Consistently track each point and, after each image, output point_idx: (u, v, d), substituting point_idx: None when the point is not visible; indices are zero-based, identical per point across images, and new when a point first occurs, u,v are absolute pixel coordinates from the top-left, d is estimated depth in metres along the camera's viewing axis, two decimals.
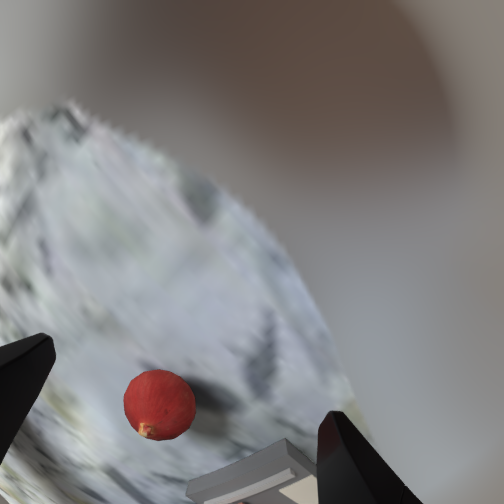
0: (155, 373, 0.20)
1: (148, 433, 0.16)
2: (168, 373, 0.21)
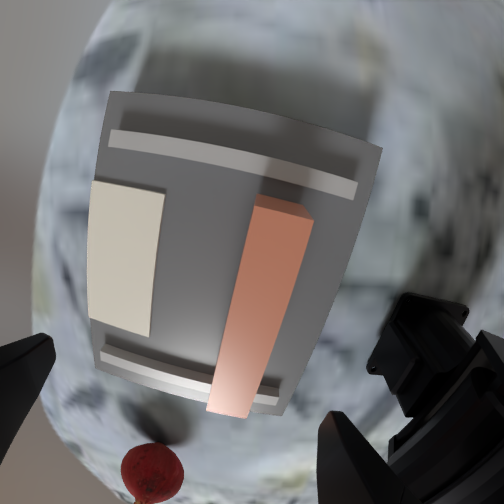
0: None
1: None
2: None
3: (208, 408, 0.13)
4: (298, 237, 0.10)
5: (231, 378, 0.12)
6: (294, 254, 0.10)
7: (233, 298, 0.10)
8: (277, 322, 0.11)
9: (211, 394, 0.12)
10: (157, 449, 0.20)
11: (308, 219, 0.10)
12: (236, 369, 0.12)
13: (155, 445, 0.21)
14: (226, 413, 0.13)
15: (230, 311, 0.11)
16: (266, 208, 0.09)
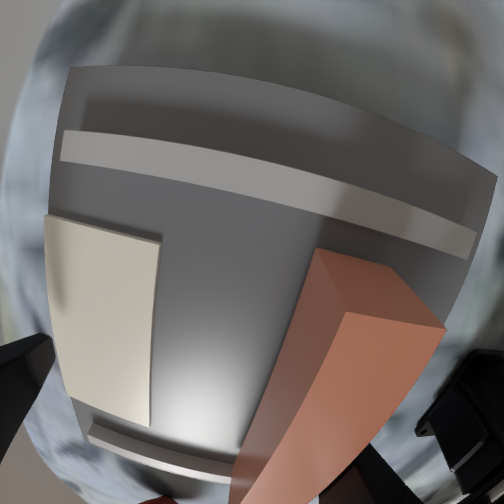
0: None
1: None
2: None
3: None
4: (415, 360, 0.04)
5: None
6: (400, 385, 0.04)
7: (280, 446, 0.05)
8: (345, 462, 0.05)
9: None
10: None
11: (437, 327, 0.04)
12: (273, 500, 0.06)
13: (162, 503, 0.15)
14: None
15: (273, 458, 0.05)
16: (369, 315, 0.04)
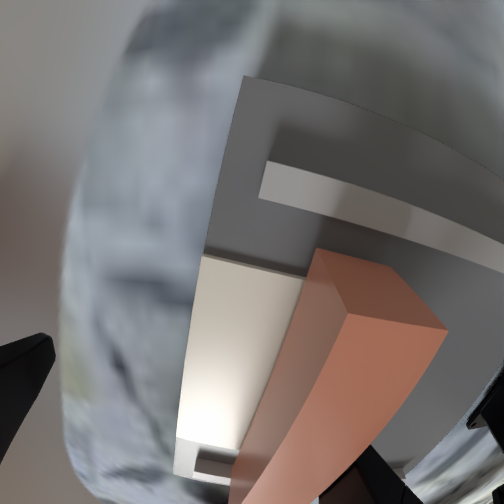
0: None
1: None
2: None
3: None
4: (416, 360, 0.04)
5: None
6: (401, 386, 0.04)
7: (281, 448, 0.05)
8: (346, 463, 0.05)
9: None
10: None
11: (439, 328, 0.04)
12: (273, 502, 0.06)
13: None
14: None
15: (273, 460, 0.05)
16: (371, 316, 0.04)
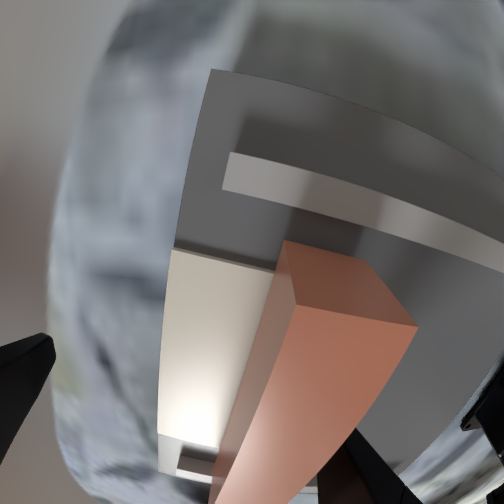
0: None
1: None
2: None
3: None
4: (382, 360, 0.04)
5: None
6: (368, 387, 0.04)
7: (243, 446, 0.05)
8: (316, 465, 0.05)
9: None
10: None
11: (407, 325, 0.04)
12: (247, 502, 0.06)
13: None
14: None
15: (238, 458, 0.05)
16: (323, 309, 0.04)
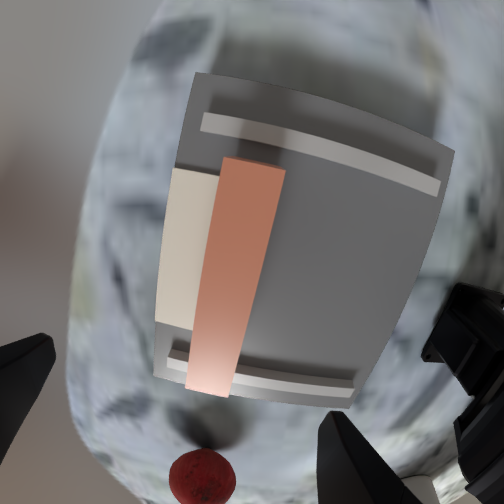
0: None
1: None
2: None
3: (187, 385, 0.12)
4: (270, 188, 0.09)
5: (209, 349, 0.11)
6: (267, 207, 0.09)
7: (205, 256, 0.10)
8: (253, 283, 0.10)
9: (189, 368, 0.12)
10: (209, 455, 0.20)
11: (280, 169, 0.09)
12: (213, 339, 0.11)
13: (205, 451, 0.21)
14: (206, 391, 0.12)
15: (203, 271, 0.10)
16: (236, 159, 0.09)
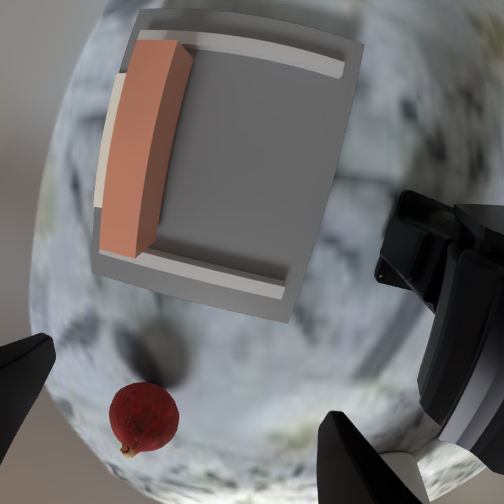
0: None
1: (124, 452, 0.16)
2: None
3: (100, 244, 0.13)
4: (166, 53, 0.10)
5: (117, 197, 0.12)
6: (163, 66, 0.10)
7: (118, 109, 0.11)
8: (151, 126, 0.11)
9: (101, 222, 0.12)
10: (151, 385, 0.21)
11: (174, 41, 0.10)
12: (120, 185, 0.12)
13: (149, 383, 0.21)
14: (117, 252, 0.13)
15: (115, 121, 0.11)
16: (144, 40, 0.10)
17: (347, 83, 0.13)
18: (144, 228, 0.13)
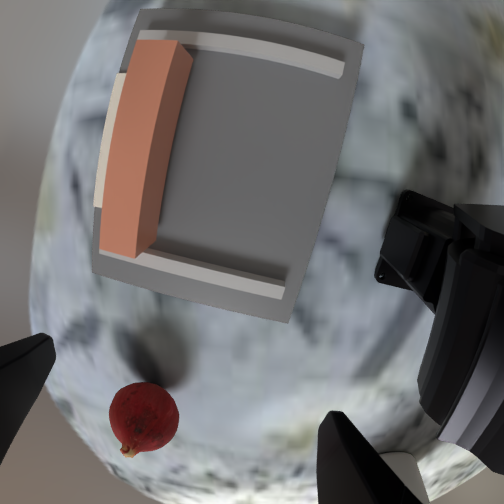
0: None
1: (124, 452, 0.16)
2: None
3: (100, 244, 0.13)
4: (166, 53, 0.10)
5: (117, 197, 0.12)
6: (163, 66, 0.10)
7: (118, 109, 0.11)
8: (151, 126, 0.11)
9: (101, 222, 0.12)
10: (151, 385, 0.21)
11: (174, 41, 0.10)
12: (120, 185, 0.12)
13: (149, 383, 0.21)
14: (117, 252, 0.13)
15: (115, 121, 0.11)
16: (144, 40, 0.10)
17: (347, 83, 0.13)
18: (144, 228, 0.13)
